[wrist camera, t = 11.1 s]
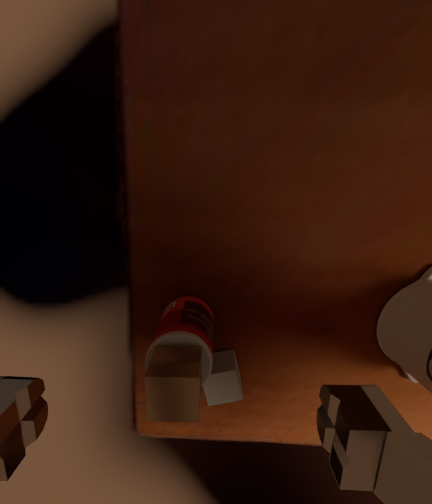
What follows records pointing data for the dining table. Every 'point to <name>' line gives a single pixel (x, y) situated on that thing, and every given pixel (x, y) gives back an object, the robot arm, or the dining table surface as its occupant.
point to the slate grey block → (223, 379)
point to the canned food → (186, 330)
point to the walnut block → (174, 384)
